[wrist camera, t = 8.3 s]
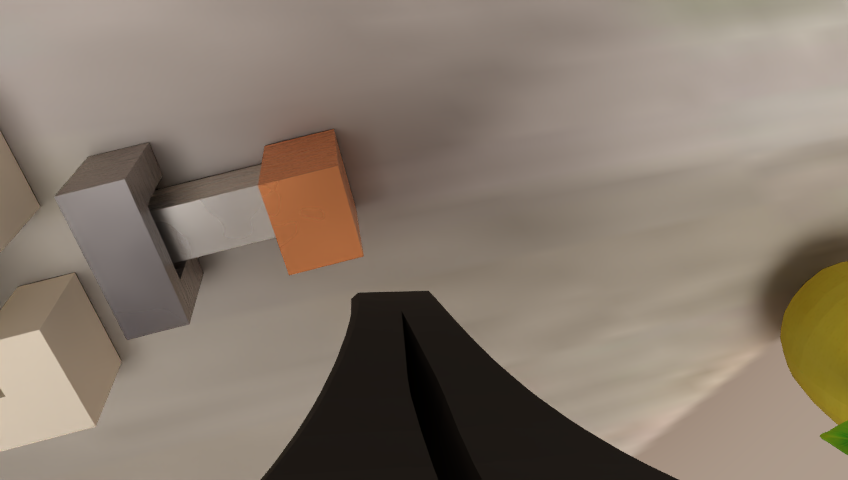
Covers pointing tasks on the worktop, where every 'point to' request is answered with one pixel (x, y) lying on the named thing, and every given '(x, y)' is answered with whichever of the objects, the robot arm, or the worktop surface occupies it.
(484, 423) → the robot arm
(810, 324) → the lemon
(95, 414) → the dock
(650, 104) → the worktop surface
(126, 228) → the block
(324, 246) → the pin
